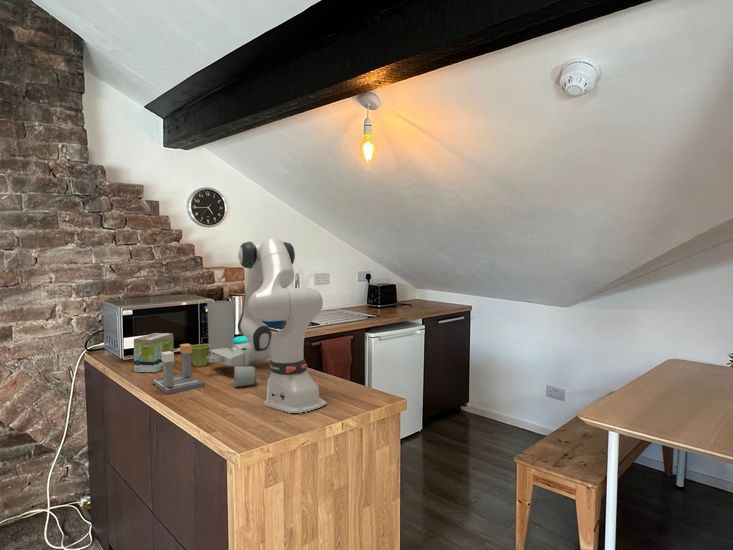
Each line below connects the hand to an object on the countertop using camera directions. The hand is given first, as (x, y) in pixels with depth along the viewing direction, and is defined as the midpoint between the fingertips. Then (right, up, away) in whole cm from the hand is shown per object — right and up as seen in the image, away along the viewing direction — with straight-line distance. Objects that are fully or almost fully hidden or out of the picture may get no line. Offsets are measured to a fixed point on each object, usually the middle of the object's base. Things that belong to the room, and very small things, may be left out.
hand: (208, 359), depth 197 cm
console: (-8, -8, -12) cm, 16 cm away
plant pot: (-10, -6, +18) cm, 22 cm away
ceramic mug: (+18, -8, -12) cm, 23 cm away
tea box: (-28, -7, +14) cm, 32 cm away
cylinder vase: (-8, -4, +46) cm, 47 cm away
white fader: (-9, -6, -19) cm, 21 cm away
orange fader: (-7, -5, -5) cm, 10 cm away
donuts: (+7, -5, +31) cm, 32 cm away
